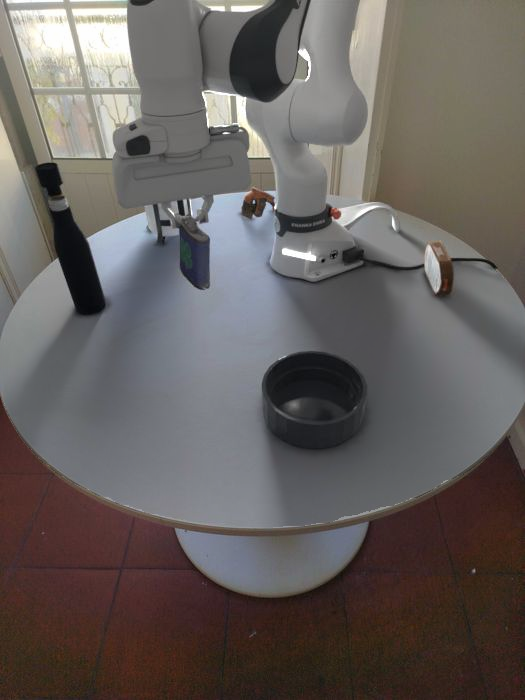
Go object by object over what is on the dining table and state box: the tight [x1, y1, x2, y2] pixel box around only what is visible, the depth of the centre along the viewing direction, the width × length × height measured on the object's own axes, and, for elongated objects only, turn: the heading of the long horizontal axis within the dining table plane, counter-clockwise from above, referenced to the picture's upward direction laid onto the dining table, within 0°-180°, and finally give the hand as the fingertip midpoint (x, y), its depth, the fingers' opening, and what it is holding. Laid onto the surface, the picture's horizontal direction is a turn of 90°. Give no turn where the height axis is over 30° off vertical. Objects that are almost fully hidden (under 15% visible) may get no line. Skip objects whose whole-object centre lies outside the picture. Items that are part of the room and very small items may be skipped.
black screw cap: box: [261, 350, 368, 449], centre depth 75 cm, size 16×16×6 cm
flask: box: [178, 215, 211, 291], centre depth 75 cm, size 9×3×11 cm, turn 29°
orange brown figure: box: [240, 186, 276, 220], centre depth 133 cm, size 12×10×8 cm
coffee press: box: [143, 199, 194, 245], centre depth 117 cm, size 17×16×30 cm
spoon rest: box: [332, 201, 401, 232], centre depth 123 cm, size 24×12×7 cm, turn 93°
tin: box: [423, 239, 455, 296], centre depth 102 cm, size 15×3×8 cm, turn 178°
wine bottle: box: [34, 162, 107, 316], centre depth 92 cm, size 6×6×30 cm
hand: (189, 224), depth 74 cm, fingers closed on flask, 3 cm apart
